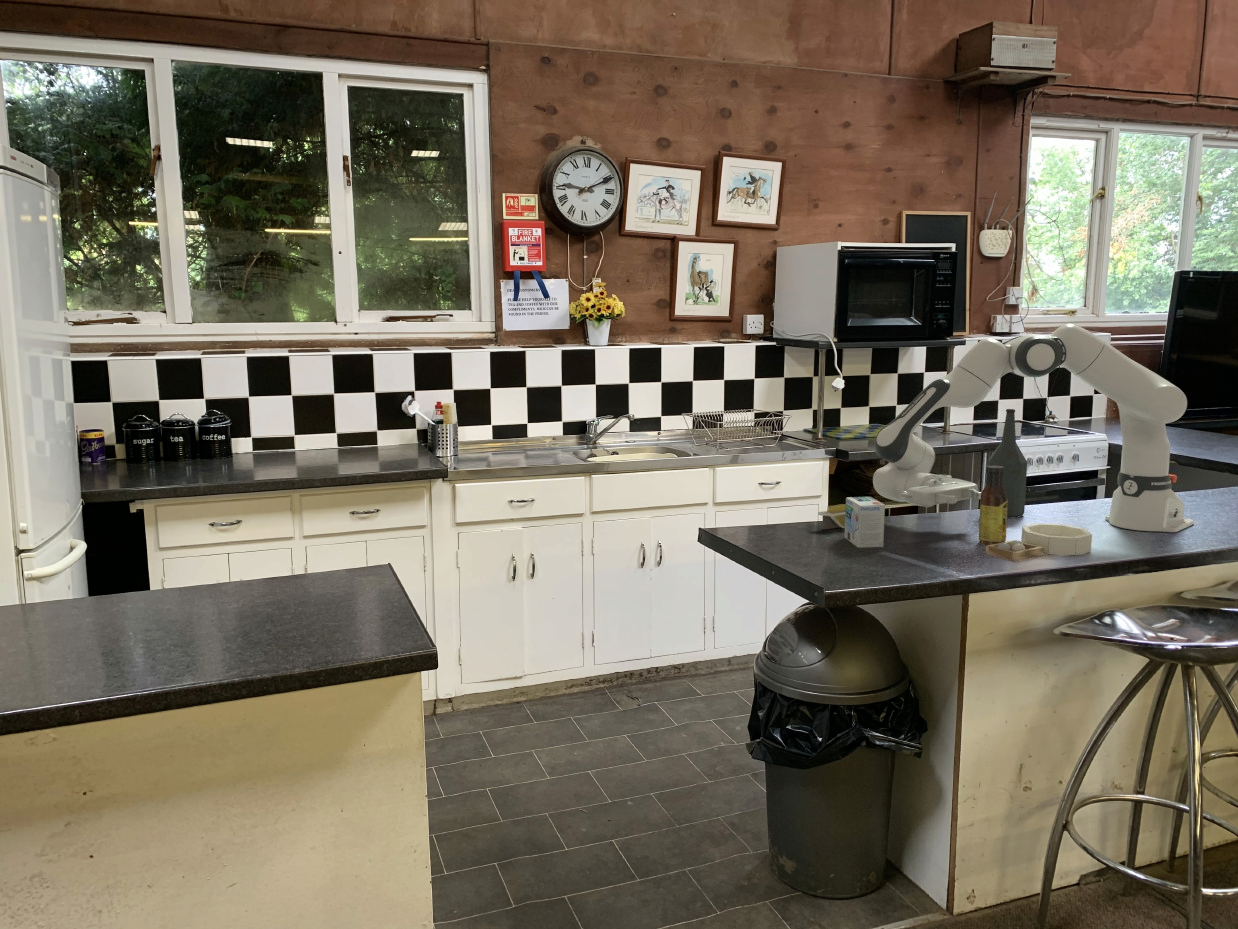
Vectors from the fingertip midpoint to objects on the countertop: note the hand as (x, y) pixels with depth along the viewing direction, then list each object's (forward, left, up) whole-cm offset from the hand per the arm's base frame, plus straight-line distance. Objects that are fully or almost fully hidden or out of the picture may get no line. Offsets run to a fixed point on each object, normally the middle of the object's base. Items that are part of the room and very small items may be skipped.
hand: (968, 498), depth 234 cm
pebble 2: (+3, +17, -10) cm, 20 cm away
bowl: (-9, +19, -11) cm, 23 cm away
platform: (+18, -27, -11) cm, 35 cm away
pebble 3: (+5, +19, -10) cm, 22 cm away
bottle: (-34, -14, -11) cm, 38 cm away
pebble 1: (+7, +17, -10) cm, 21 cm away
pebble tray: (+5, +18, -11) cm, 21 cm away
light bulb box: (+23, -12, -11) cm, 28 cm away
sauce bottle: (0, +8, -11) cm, 13 cm away
